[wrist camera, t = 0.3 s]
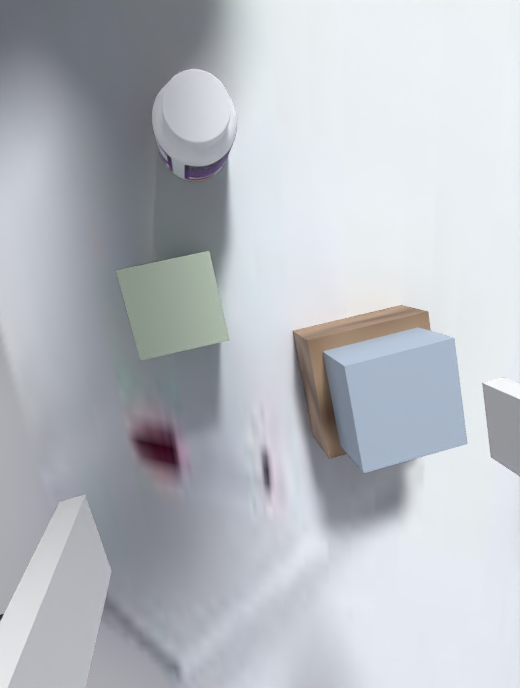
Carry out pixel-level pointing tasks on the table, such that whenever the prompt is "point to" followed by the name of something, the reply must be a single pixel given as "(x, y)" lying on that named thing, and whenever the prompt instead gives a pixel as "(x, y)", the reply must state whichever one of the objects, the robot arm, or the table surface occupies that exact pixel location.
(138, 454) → the table surface
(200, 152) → the pill bottle
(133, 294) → the green block
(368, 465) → the tower top
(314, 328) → the tower base
